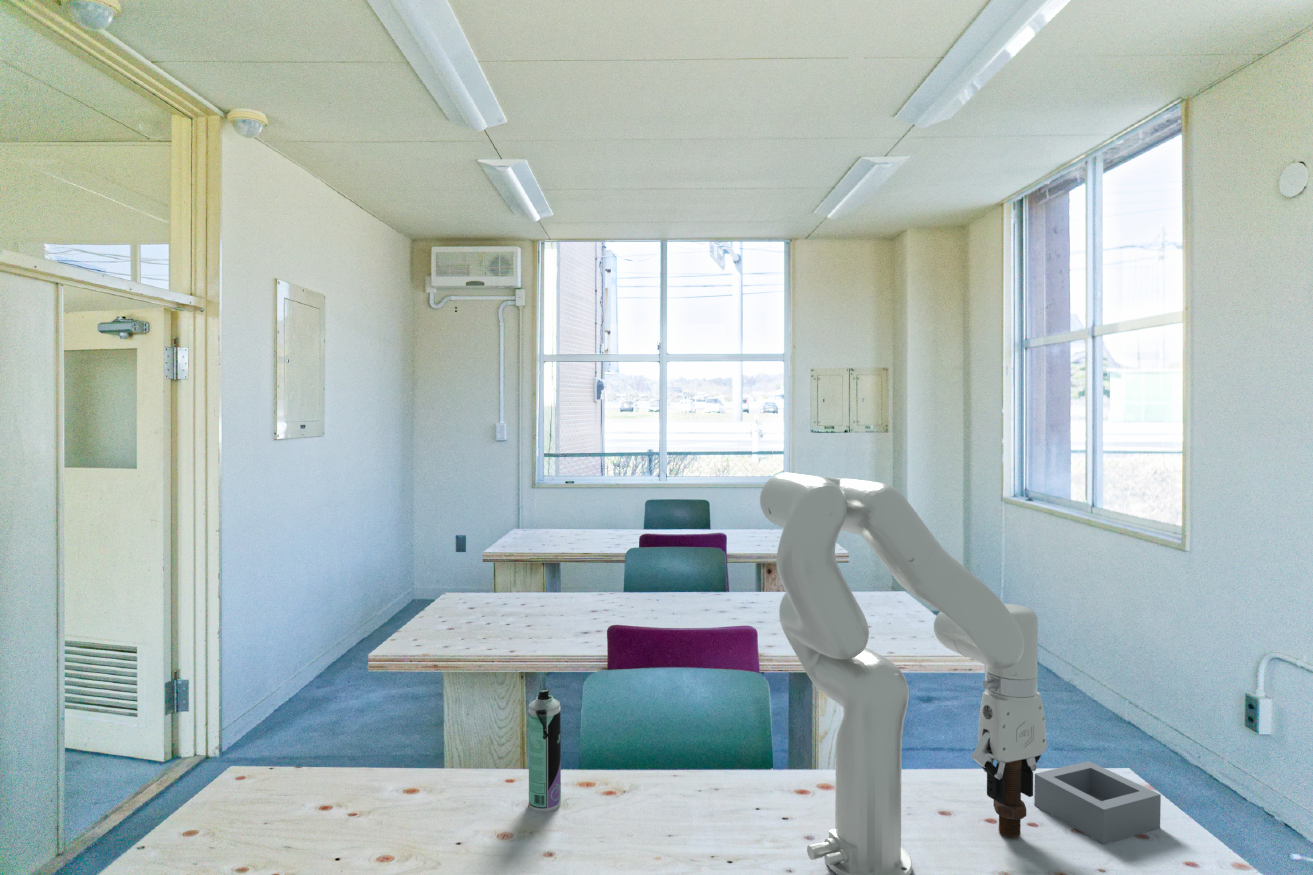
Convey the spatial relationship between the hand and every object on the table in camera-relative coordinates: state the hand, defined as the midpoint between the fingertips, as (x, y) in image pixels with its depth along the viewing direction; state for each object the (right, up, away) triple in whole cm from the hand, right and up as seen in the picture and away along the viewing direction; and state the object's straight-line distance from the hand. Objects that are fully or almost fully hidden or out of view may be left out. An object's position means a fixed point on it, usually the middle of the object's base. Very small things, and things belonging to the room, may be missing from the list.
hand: (1009, 795), depth 121 cm
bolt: (0, -7, 0) cm, 7 cm away
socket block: (+17, -6, +6) cm, 19 cm away
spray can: (-76, -7, +10) cm, 77 cm away
